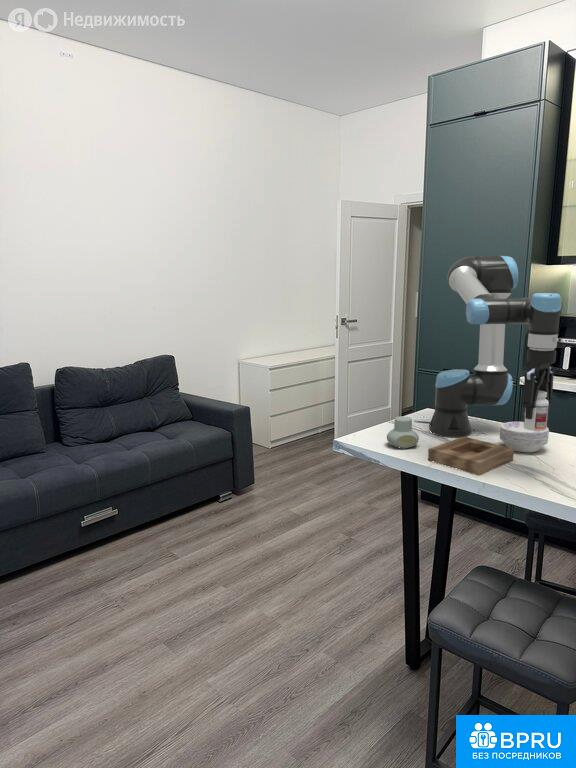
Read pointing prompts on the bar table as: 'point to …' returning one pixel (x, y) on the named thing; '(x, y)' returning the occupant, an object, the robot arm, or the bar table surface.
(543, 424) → the pill bottle
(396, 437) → the air freshener
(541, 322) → the robot arm
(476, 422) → the bar table surface
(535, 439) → the paper bowls
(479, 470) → the walnut holder
